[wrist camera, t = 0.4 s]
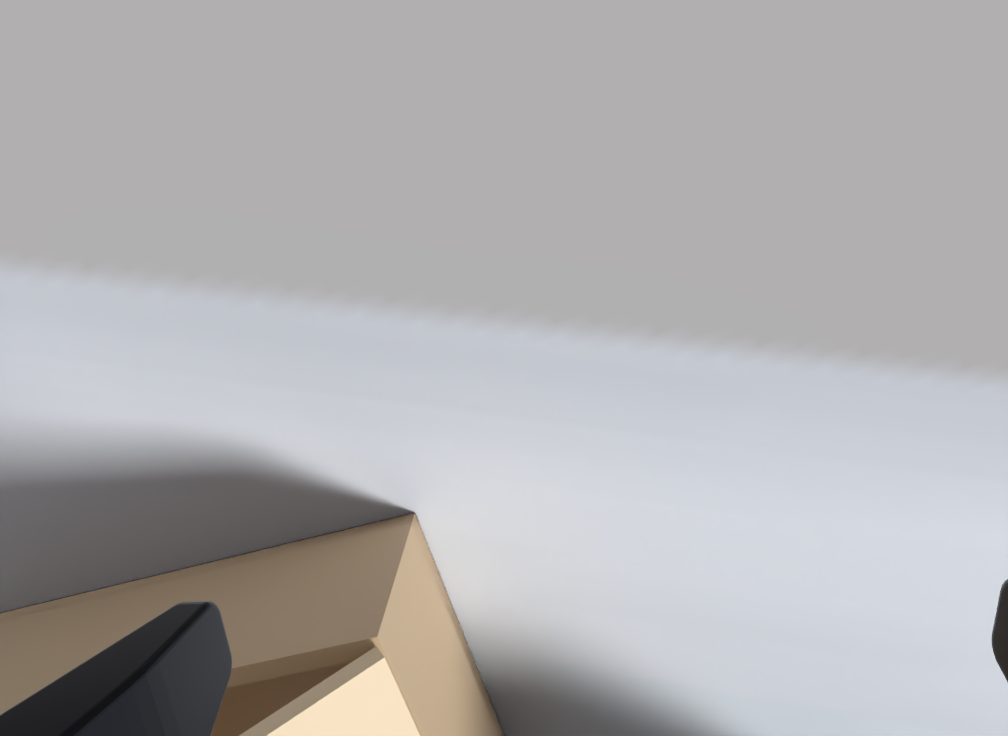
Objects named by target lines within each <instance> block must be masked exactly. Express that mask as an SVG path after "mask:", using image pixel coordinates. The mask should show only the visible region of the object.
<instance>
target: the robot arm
mask: <svg viewBox="0 0 1008 736" xmlns="http://www.w3.org/2000/svg"><path fill="white" fill-rule="evenodd" d="M992 647H993V652H994V655H995V658H996V660H997V663H998V665H999V666H1000V668H1001V670H1002V672H1003V674H1004V676H1005V678H1006V680H1007V682H1008V579H1007V580H1006V581H1005V582H1004V583H1003V585H1002V588H1001V591H1000V596H999V601H998V607H997V612H996V617H995V622H994V627H993V632H992ZM231 669H232V656H231V651H230V647H229V643H228V639H227V635H226V631H225V628H224V624H223V620H222V616H221V612H220V610H219V608H218V606H217V605H216V604H215V603H214V602H212V601H186V602H181V603H178V604H176V605H174V606H173V607H171V608H169V609H168V610H166V611H165V612H163V613H162V614H160V615H158V616H157V617H155V618H154V619H152V620H150V621H149V622H147V623H146V624H144V625H142V626H141V627H139V628H138V629H136V630H134V631H133V632H131V633H130V634H128V635H127V636H125V637H123V638H122V639H120V640H119V641H117V642H115V643H114V644H112V645H111V646H109V647H107V648H106V649H104V650H103V651H101V652H99V653H98V654H96V655H95V656H93V657H92V658H90V659H88V660H87V661H85V662H84V663H82V664H80V665H79V666H77V667H76V668H74V669H72V670H71V671H69V672H68V673H66V674H64V675H63V676H61V677H60V678H58V679H56V680H55V681H53V682H52V683H50V684H49V685H47V686H45V687H44V688H42V689H41V690H39V691H37V692H36V693H34V694H33V695H31V696H29V697H28V698H26V699H25V700H23V701H21V702H20V703H18V704H17V705H15V706H14V707H12V708H10V709H9V710H7V711H6V712H4V713H2V714H1V715H0V736H211V734H212V731H213V728H214V724H215V721H216V718H217V715H218V712H219V709H220V706H221V703H222V700H223V697H224V694H225V691H226V688H227V685H228V682H229V679H230V675H231Z"/></svg>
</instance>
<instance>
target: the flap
mask: <svg viewBox="0 0 1008 736" xmlns="http://www.w3.org/2000/svg"><path fill="white" fill-rule="evenodd" d="M239 736H420V734H419V732H418V730H417V728H416V726H415V723H414V721H413V719H412V717H411V715H410V712H409V710H408V708H407V706H406V704H405V701H404V699H403V697H402V695H401V693H400V690H399V688H398V686H397V684H396V682H395V679H394V677H393V675H392V673H391V671H390V668H389V666H388V664H387V662H386V660H385V657H384V656H383V655H382V653H381V652H380V651H379V649H378V648H377V647H374V648H373V649H371V650H370V651H368V652H367V653H365V654H363V655H362V656H360V657H359V658H357V659H356V660H354V661H353V662H351V663H350V664H348V665H347V666H345V667H344V668H342V669H340V670H339V671H337V672H336V673H334V674H333V675H331V676H330V677H328V678H327V679H325V680H324V681H322V682H321V683H319V684H317V685H316V686H314V687H313V688H311V689H310V690H308V691H307V692H305V693H304V694H302V695H301V696H299V697H298V698H296V699H294V700H293V701H291V702H290V703H288V704H287V705H285V706H284V707H282V708H281V709H279V710H278V711H276V712H274V713H273V714H271V715H270V716H268V717H267V718H265V719H264V720H262V721H261V722H259V723H258V724H256V725H255V726H253V727H251V728H250V729H248V730H247V731H245V732H244V733H242V734H241V735H239Z"/></svg>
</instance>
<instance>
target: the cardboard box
mask: <svg viewBox="0 0 1008 736" xmlns="http://www.w3.org/2000/svg"><path fill="white" fill-rule="evenodd" d="M186 601H212V602H214V603H215V604H216V605H217V606H218V608H219V610H220V612H221V616H222V620H223V624H224V628H225V631H226V635H227V639H228V643H229V647H230V651H231V656H232V669H231V675H230V679H229V682H228V685H227V688H226V691H225V694H224V697H223V700H222V703H221V706H220V709H219V712H218V715H217V718H216V721H215V724H214V728H213V731H212V734H211V736H239V735H241V734H242V733H244V732H245V731H247V730H248V729H250V728H251V727H253V726H255V725H256V724H258V723H259V722H261V721H262V720H264V719H265V718H267V717H268V716H270V715H271V714H273V713H274V712H276V711H278V710H279V709H281V708H282V707H284V706H285V705H287V704H288V703H290V702H291V701H293V700H294V699H296V698H298V697H299V696H301V695H302V694H304V693H305V692H307V691H308V690H310V689H311V688H313V687H314V686H316V685H317V684H319V683H321V682H322V681H324V680H325V679H327V678H328V677H330V676H331V675H333V674H334V673H336V672H337V671H339V670H340V669H342V668H344V667H345V666H347V665H348V664H350V663H351V662H353V661H354V660H356V659H357V658H359V657H360V656H362V655H363V654H365V653H367V652H368V651H370V650H371V649H373V648H374V647H377V648H378V649H379V651H380V652H381V653H382V655H383V656H384V657H385V660H386V662H387V664H388V666H389V668H390V671H391V673H392V675H393V677H394V679H395V682H396V684H397V686H398V688H399V690H400V693H401V695H402V697H403V699H404V701H405V704H406V706H407V708H408V710H409V712H410V715H411V717H412V719H413V721H414V723H415V726H416V728H417V730H418V732H419V734H420V736H504V734H503V731H502V729H501V726H500V724H499V721H498V719H497V716H496V714H495V711H494V709H493V706H492V704H491V701H490V699H489V696H488V694H487V691H486V689H485V686H484V684H483V681H482V679H481V676H480V674H479V671H478V669H477V666H476V664H475V661H474V659H473V656H472V654H471V651H470V649H469V646H468V644H467V641H466V639H465V636H464V634H463V631H462V629H461V626H460V624H459V621H458V619H457V616H456V614H455V611H454V609H453V606H452V604H451V601H450V599H449V596H448V594H447V591H446V589H445V586H444V584H443V581H442V579H441V576H440V574H439V571H438V569H437V566H436V564H435V561H434V559H433V556H432V554H431V551H430V549H429V546H428V544H427V541H426V539H425V536H424V534H423V531H422V529H421V526H420V524H419V521H418V519H417V516H416V514H415V513H412V514H408V515H404V516H400V517H396V518H392V519H387V520H383V521H379V522H375V523H371V524H367V525H363V526H359V527H354V528H350V529H346V530H342V531H338V532H334V533H330V534H326V535H321V536H317V537H313V538H309V539H305V540H301V541H297V542H292V543H288V544H284V545H280V546H276V547H272V548H268V549H264V550H259V551H255V552H251V553H247V554H243V555H239V556H235V557H231V558H226V559H222V560H218V561H214V562H210V563H206V564H202V565H198V566H193V567H189V568H185V569H181V570H177V571H173V572H169V573H165V574H160V575H156V576H152V577H148V578H144V579H140V580H136V581H132V582H127V583H123V584H119V585H115V586H111V587H107V588H103V589H99V590H94V591H90V592H86V593H82V594H78V595H74V596H70V597H65V598H61V599H57V600H53V601H49V602H45V603H41V604H37V605H32V606H28V607H24V608H20V609H16V610H12V611H8V612H4V613H0V715H1V714H2V713H4V712H6V711H7V710H9V709H10V708H12V707H14V706H15V705H17V704H18V703H20V702H21V701H23V700H25V699H26V698H28V697H29V696H31V695H33V694H34V693H36V692H37V691H39V690H41V689H42V688H44V687H45V686H47V685H49V684H50V683H52V682H53V681H55V680H56V679H58V678H60V677H61V676H63V675H64V674H66V673H68V672H69V671H71V670H72V669H74V668H76V667H77V666H79V665H80V664H82V663H84V662H85V661H87V660H88V659H90V658H92V657H93V656H95V655H96V654H98V653H99V652H101V651H103V650H104V649H106V648H107V647H109V646H111V645H112V644H114V643H115V642H117V641H119V640H120V639H122V638H123V637H125V636H127V635H128V634H130V633H131V632H133V631H134V630H136V629H138V628H139V627H141V626H142V625H144V624H146V623H147V622H149V621H150V620H152V619H154V618H155V617H157V616H158V615H160V614H162V613H163V612H165V611H166V610H168V609H169V608H171V607H173V606H174V605H176V604H178V603H181V602H186Z"/></svg>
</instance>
